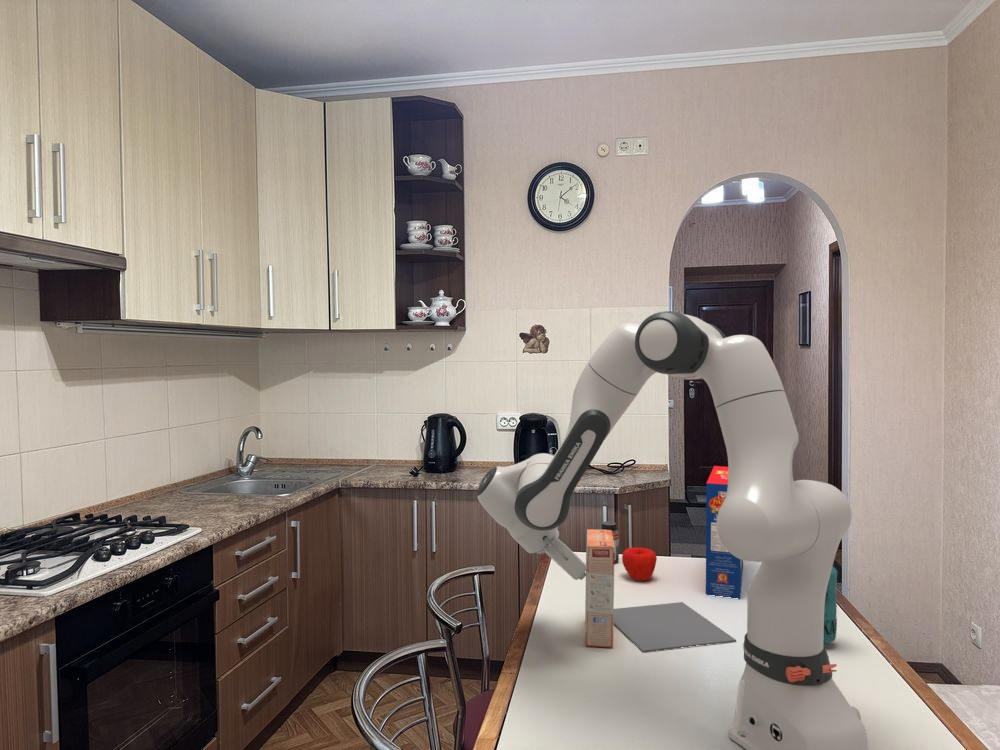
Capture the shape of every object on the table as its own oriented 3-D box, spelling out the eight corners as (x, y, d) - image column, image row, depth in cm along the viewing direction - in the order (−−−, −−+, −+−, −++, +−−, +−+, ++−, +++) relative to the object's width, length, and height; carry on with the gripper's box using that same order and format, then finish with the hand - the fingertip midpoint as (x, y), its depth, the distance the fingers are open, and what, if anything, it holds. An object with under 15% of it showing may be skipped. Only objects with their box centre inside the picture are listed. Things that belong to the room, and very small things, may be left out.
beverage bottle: (798, 636, 141) (799, 541, 140) (832, 638, 139) (833, 543, 139) (805, 649, 134) (806, 550, 134) (841, 652, 133) (842, 552, 132)
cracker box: (615, 649, 134) (615, 546, 134) (585, 647, 135) (585, 545, 135) (612, 622, 148) (613, 528, 148) (585, 620, 149) (585, 527, 149)
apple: (615, 578, 177) (615, 549, 177) (635, 571, 183) (635, 543, 183) (643, 587, 171) (643, 556, 171) (663, 579, 177) (663, 550, 177)
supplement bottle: (594, 562, 191) (594, 523, 191) (603, 557, 196) (603, 519, 196) (613, 566, 188) (613, 526, 188) (622, 560, 193) (622, 522, 193)
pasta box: (713, 562, 191) (714, 466, 190) (743, 566, 188) (743, 467, 187) (705, 595, 165) (706, 483, 164) (740, 599, 162) (740, 485, 161)
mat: (736, 641, 138) (736, 639, 138) (642, 652, 133) (642, 650, 133) (682, 603, 159) (682, 602, 159) (600, 611, 154) (600, 610, 154)
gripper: (564, 533, 129) (610, 579, 131) (533, 509, 148) (573, 549, 151) (542, 557, 128) (589, 603, 130) (513, 530, 148) (555, 570, 150)
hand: (580, 574), depth 141 cm, fingers closed
